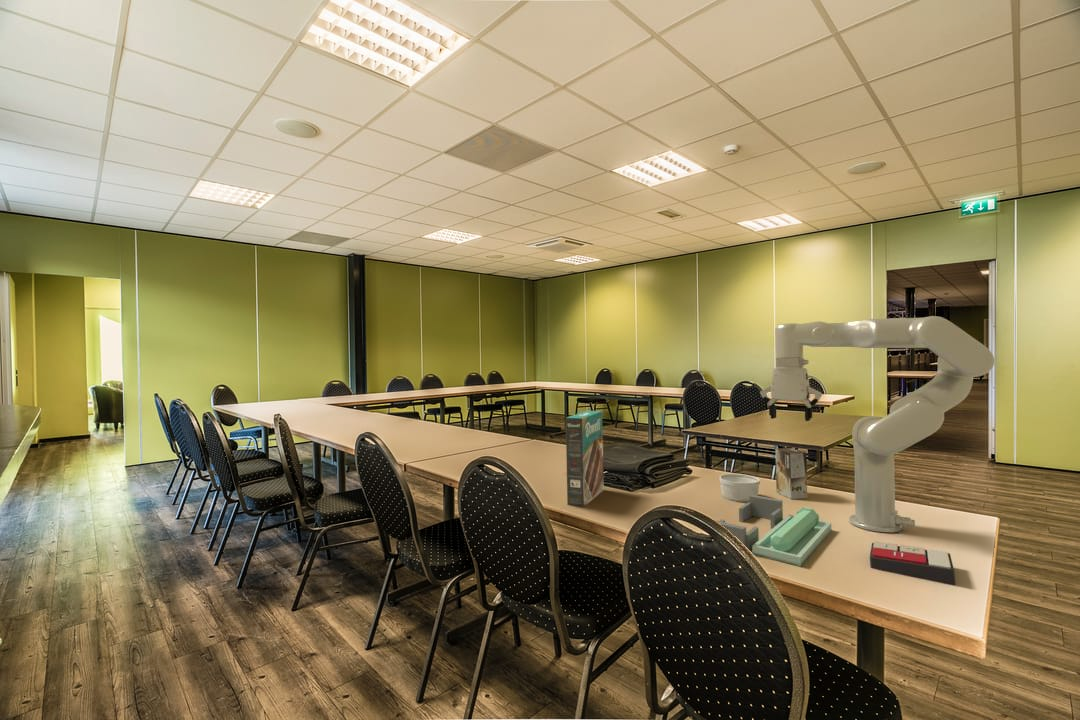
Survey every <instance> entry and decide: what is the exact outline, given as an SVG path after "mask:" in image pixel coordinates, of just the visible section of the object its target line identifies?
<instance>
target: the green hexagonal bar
mask: <svg viewBox="0 0 1080 720" xmlns="http://www.w3.org/2000/svg"><path fill="white" fill-rule="evenodd" d="M794 516H795V517H793V518H792V519H791V520H790V521H789V522H787V523H786V524H785V525H784V526H783V527H781V528H780V529H779V530H778V531H777V532H775V533H774V534H773V535H772V536H771V545H772V547H773V548H774V549H775V550H778V551H782V552H786V551H788V550H789V549H791V548H792V547H793V546H794V545H795V544H796V543H797V542H798V541H799V540H800V539H801V538H802V537H803V536H804V535H805V534H806V533H807V532H808V531H809V530H810V529H812V528H814V527H815V526H817V525H818V524H819V520H820V515H819V514H818V513H817V512H816V511H815V510H814V509H813V508H809V507H803V508H801V509H800V510H798V511H797V512H796V515H794Z"/></svg>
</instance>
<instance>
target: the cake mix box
mask: <svg viewBox="0 0 1080 720" xmlns="http://www.w3.org/2000/svg"><path fill="white" fill-rule="evenodd" d="M603 431H604V429H603V411H602V410H585V411H582V412H579V413H576V414H574V415H570V416H566V417H565V441H566V442H565V444H566V445H565V450H566V451H565V452H566V458H565V459H566V494H567V495H566V498H567V500H566V502H567V503H566V505H567V506H574V507H583V508H584V507H585V506H587V504H589V503H590V502H592V500H594V499H595V498H596V497H597V496H599V494H601V493H602V492H604V489H605V487H604V480H605V479H604V439H603V438H604V437H603V436H604V433H603Z"/></svg>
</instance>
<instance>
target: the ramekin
mask: <svg viewBox="0 0 1080 720" xmlns="http://www.w3.org/2000/svg"><path fill="white" fill-rule="evenodd" d="M719 482H720V492H721V495H722V496H723V498H725V499H726V500H729V501H732V502H742V503H748V502H749V503H750V496H751V495H756V496H759V488H760V485H761V480H760V478H759V477H756V476H753V475H748V474H744V473H743V474H742V473H724V474H721V475H720V476H719Z"/></svg>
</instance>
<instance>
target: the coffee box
mask: <svg viewBox="0 0 1080 720" xmlns="http://www.w3.org/2000/svg"><path fill="white" fill-rule="evenodd" d="M807 467H808V466H807V452H805V451H802V450H798V449H795V448H792V447H783V448H782V447H781V448H775V476H776V477H775V478H776V479H775V480H776V481H775V482H776V493H777V494H780V495H782V496H783V497H785V498H788V499H790V500H799V499H808V475H807V474H808V473H807V472H808V471H807V470H808V469H807Z"/></svg>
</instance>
